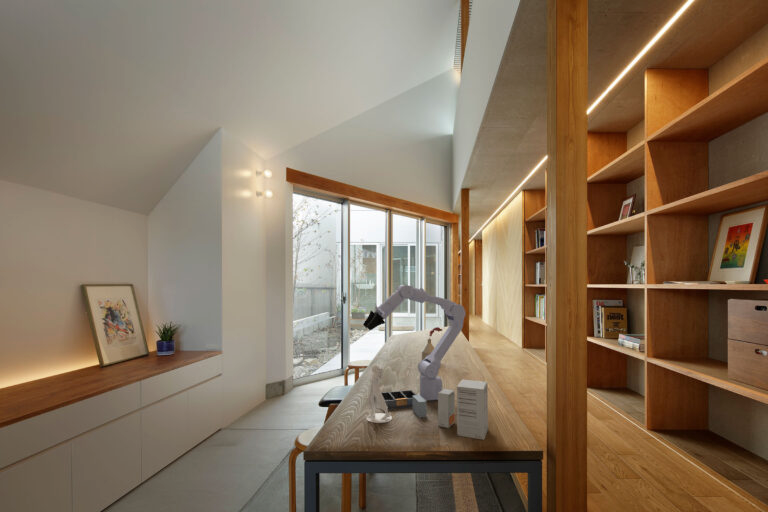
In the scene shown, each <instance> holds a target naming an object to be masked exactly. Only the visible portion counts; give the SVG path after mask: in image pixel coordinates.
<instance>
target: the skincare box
mask: <svg viewBox="0 0 768 512" xmlns="http://www.w3.org/2000/svg"><path fill="white" fill-rule="evenodd" d="M455 392H456V391H455V390H453V389H449V388H443V389H442V391H440V392H439V393H438V400H437V425H438V427H443V428H446V429H449V428H450V427H452V426H453V425H454V424H455V423H456V422H455V420H456V419H455V418H456V417H455V414H456V413H455V410H456V407H455V400H456V399H455V398H456V397H455Z"/></svg>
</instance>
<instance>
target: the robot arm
mask: <svg viewBox="0 0 768 512" xmlns="http://www.w3.org/2000/svg"><path fill="white" fill-rule="evenodd" d="M405 300H408V301H413V302H416V303H420V304H423V303H425V302H427V303H431V304H434V305H438V306H440V308H441V310H443V313H444V315H445V317H446V318H447V320H448V323H449V326H448V327H447V329H446V330H445V332H443V335H442V336H441V338H440V339H439V341H438V342H437V344H436V345H435V346H434V348H433V350H432V351H431V352H430V354H428V355H426V356H425V358H424V359H422V360H421V361H419V363H418V365H417V370H418V372H419V373H420V374H419V393H416V394H417V395H420V396H421V397H422V398H423V399H424V400H425V401H426V402H428V401H438V393H439V392H440V391H442V390H443V381H442V378H441V377H440V376H438V374H439V370H440V368H441V366H442V365H441V362H442V359H443V358H444V356H445V355H446V354H447V352H448V351H449V349H450V348H451V346H452V345H453V344H454V342H455V340H456V338H458V336H459V334H460V332H462V330H463V327H464V319H465V317H466V315H467V314H466V310H465V307H464V306H463V305H461V304H459V303H458V304H457V303H456V302H455V301H452V300H450V299H447V298H443V297H439V296H434V295H431V294H428V292H427V290H425V289H424V288H422V287H420V288H417V287H414V286H413V285H407V284H400V285H397V287H396V289H395V291H394V292H392V294H390V295H389V296H388V298H387V297H386V299H385V300H384V301H382V303H381V304H380V305H378V306H377V305H375V306H374V308H375V310H374V311H373V310H370V312H369V314H368V316H367V318H366V319H365V320H364V322H363V323H362V325H363V326H364V327H365V328H366V329H368V330H369V331H373V330H374V329H375V328H378V326H381V325H384V324H386V321H385V320H387V319H388V317H389V316H390V315H391V314H392V313H393V312H394V311H395V310H396V309H397V308H398V307H399V306H400V305H402V304H403V302H404V301H405Z"/></svg>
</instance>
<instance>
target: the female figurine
mask: <svg viewBox="0 0 768 512" xmlns="http://www.w3.org/2000/svg"><path fill="white" fill-rule="evenodd" d="M371 372H372V375H371V377H370V379H369V381H370V389H369V393H367V395H368V399H367V407H368V408H369V410H370V409H371V413H370V414H369V415H367V416H366V420H367V421H368V422H370V423H375V424H385V423H388V422H390V421H391V420H393V418H392V417H393V416H392V415H390V413H389V410H388V407H387V405H386V403H385V400H384V398H383V395H382V390H383V389H384V388H385V387H388V386H391V385H392V384H384V385H383V387H382V389H381V387H380V386H382V385H379V381H380V380H382V379H384V375H383V374H384V370H383V368H380V367H379V366H378V365H377V364H374V365H372V366H371ZM362 388H364V387H362ZM362 388H361V389H362ZM351 390H357V391H359V392H360V393H361V394H363V395H365V393H364V392H362V391H360V388H356V387H354V388H351ZM380 409H381V410H382V411H384V413H383V412H381V413H380V412H379V413H377V412H375V411H376V410H380Z"/></svg>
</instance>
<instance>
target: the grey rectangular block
mask: <svg viewBox="0 0 768 512" xmlns="http://www.w3.org/2000/svg"><path fill="white" fill-rule="evenodd" d="M412 402H413V407H412V411H413V413H414V414H416V416H417V417H418V418H419V419H420V418H426V417H427V401H425V400H424V399H423V398H422V397H421V396H420V395H413V396H412Z"/></svg>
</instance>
